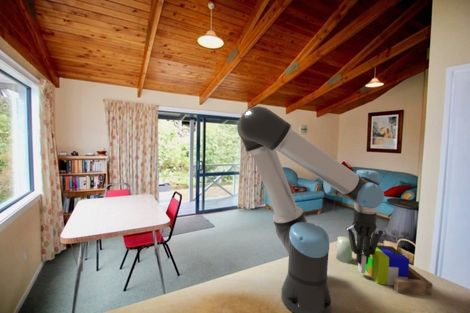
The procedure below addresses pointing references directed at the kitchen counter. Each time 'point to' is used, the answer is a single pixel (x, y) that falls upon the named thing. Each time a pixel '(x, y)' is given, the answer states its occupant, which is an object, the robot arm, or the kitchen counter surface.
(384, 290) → the kitchen counter surface
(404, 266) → the puzzle toy
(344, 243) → the cream egg shape
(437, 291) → the kitchen counter surface
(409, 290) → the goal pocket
